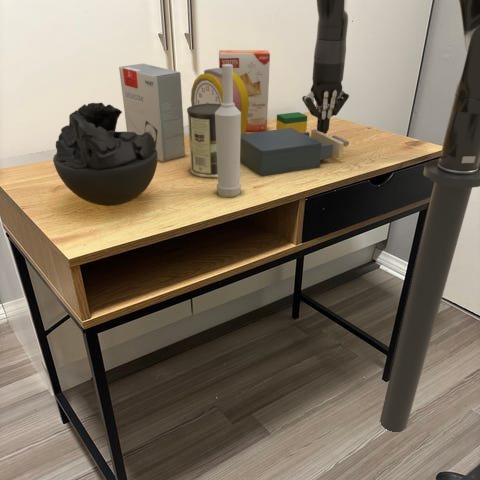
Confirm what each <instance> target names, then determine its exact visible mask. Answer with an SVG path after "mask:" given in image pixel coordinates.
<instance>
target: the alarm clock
mask: <svg viewBox="0 0 480 480" xmlns="http://www.w3.org/2000/svg"><path fill="white" fill-rule="evenodd" d="M221 103H223V79H222V69H221V68H219V67H214V68H213V67H212V68H208V69H205V70H203V73H201V74H199V75H198V76H197V77H196V78H195V79H194V80H193V84H192V86H191V91H190V104H191V106H193V105H199V104H221ZM233 103H234V104H235V107H236V108H237V109H238V110H239V111H240V112H241V134H245V133H247V131H246V124H247V116H248V108H249V101H248V93H247V90H246V88H245V85H244V82H243V81H242V80H241V78H240V77H239V76H238V74H236V73H234V72H233Z"/></svg>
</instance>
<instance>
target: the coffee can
mask: <svg viewBox="0 0 480 480" xmlns="http://www.w3.org/2000/svg"><path fill="white" fill-rule="evenodd" d="M220 107H221V104H199V105H193V106H192V105H191V106H189V107H187V109H186V113H187V120H188V122H187V124H188V139H189V140H188V141H189V155H190V172H191V174H193V175H194V176H197V177H201V178H218V169H217V148H216V126H215V112H216V111H217V110H218V109H219V108H220Z"/></svg>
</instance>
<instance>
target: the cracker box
mask: <svg viewBox="0 0 480 480" xmlns="http://www.w3.org/2000/svg"><path fill="white" fill-rule="evenodd" d="M270 61H271V53H270V51H269V50H267V49H264V50H261V49H259V50H258V49H256V50H255V49H219V50H218V68H221V69H222V65H224V64H231V65H233V72H234V73H236V74H238V76H239V77H240V78H241V80H242V81H243V82H244V85H245V88H246V90H247V93H248V101H249V108H248V116H247V124H246V132H262V131H268V114H269V113H268V109H269V87H270Z"/></svg>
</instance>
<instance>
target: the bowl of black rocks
mask: <svg viewBox="0 0 480 480" xmlns="http://www.w3.org/2000/svg"><path fill="white" fill-rule="evenodd" d="M122 113H123V111H122V110H121V109H119V108H117V107H114V106H113V105H111V104H107V105H105V104H104V103H103V102H90V103H87V104H85V103H84V104H83V105H81V106H80V107H78V109H75V110H74V111H73V112H71V113H70V114H69V118H68V119H69V120H68V122H69V123H68V125H65V126H63V127H62V128H61V129H60V131H61V132H60V133H59V135H58V138H57V139H58V140H56V141H55V149H56V153H55V154H54V155H53V158H52V162H53V165H54V168H55V170H56V173H57V175H58V176H59V178H60V179H61V181H62V183H64V185H65V187H66V188H67V189H68V190H70V192H71V193H73V194H74V195H76V196H77V197H79V198H80V199H81V200H83V201H85V202H87V203H90V204H93V205H97V206H103V207H113V206H114V207H115V206H120V205H124V204H127V203H130V202H132V201H134V200H135V199H137V198H138V197H139V196H141V195H142V194H143V193H144V192H145V191H146V190H147V188H148V187H149V185H150V184H151V182H152V181H153V179H154V176H155V173H156V171H157V170H156V169H157V166H158V160H157V159H158V153H157V150H156V149H155V144H154V138H153V137H152V135H151V134H150V133H149V132H145V133H144V134H142V135H138V134H136V133H135V132H127V131H117V124H118V119H119V118H120V116H121V115H122Z"/></svg>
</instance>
